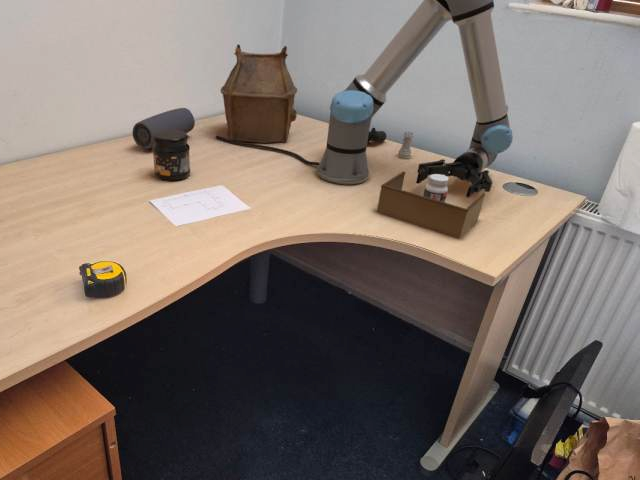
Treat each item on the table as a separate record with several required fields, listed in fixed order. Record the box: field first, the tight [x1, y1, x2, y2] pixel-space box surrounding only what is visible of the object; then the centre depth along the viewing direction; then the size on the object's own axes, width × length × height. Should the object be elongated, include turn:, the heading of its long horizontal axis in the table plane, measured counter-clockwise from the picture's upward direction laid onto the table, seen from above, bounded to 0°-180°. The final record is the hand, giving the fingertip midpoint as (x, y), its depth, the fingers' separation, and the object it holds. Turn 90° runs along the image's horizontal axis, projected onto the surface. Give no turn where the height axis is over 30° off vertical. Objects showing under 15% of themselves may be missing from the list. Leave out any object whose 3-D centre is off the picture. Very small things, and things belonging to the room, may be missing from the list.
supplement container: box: [151, 130, 191, 182], centre depth 149 cm, size 10×10×12 cm
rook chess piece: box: [397, 131, 414, 160], centre depth 171 cm, size 4×4×8 cm
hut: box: [220, 43, 298, 144], centre depth 179 cm, size 23×27×30 cm
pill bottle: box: [422, 174, 450, 203], centre depth 134 cm, size 6×6×10 cm
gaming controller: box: [367, 127, 387, 144], centre depth 184 cm, size 17×6×10 cm
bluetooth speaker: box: [132, 107, 196, 149], centre depth 173 cm, size 23×9×10 cm, turn 150°
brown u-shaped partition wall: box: [376, 171, 486, 239], centre depth 133 cm, size 13×22×8 cm, turn 52°
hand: (442, 185), depth 136 cm, fingers open, 13 cm apart
